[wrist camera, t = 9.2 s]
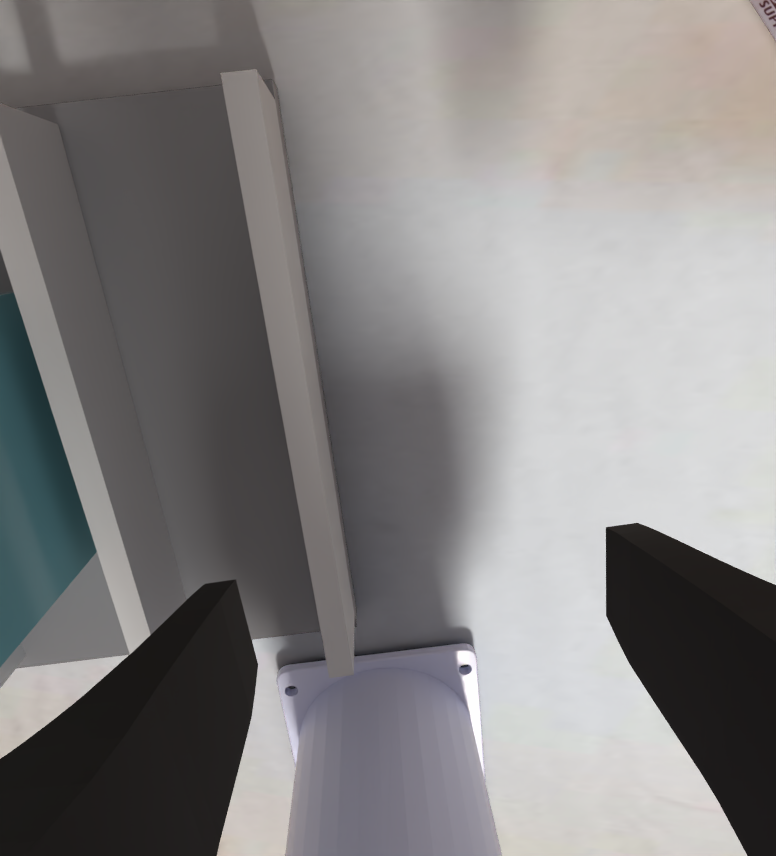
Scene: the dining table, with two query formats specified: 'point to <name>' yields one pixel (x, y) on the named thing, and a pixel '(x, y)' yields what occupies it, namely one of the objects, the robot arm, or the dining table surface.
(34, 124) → the dish rack
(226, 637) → the robot arm
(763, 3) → the supplement box
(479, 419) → the dining table surface
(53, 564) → the tall teal block
